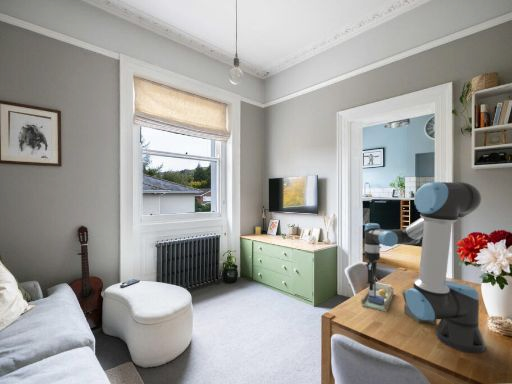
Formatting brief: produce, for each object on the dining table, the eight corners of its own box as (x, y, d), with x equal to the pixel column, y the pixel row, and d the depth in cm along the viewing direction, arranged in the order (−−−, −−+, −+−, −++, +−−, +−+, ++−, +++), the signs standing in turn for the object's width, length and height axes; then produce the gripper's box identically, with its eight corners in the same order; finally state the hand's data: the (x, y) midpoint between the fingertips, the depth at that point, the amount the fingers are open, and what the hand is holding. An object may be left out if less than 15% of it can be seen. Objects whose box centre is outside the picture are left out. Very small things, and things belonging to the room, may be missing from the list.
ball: (385, 298, 140) (385, 291, 140) (377, 296, 143) (377, 289, 143) (386, 295, 143) (386, 288, 143) (379, 294, 146) (379, 287, 146)
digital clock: (439, 326, 113) (439, 302, 113) (419, 326, 113) (419, 302, 113) (416, 309, 129) (416, 288, 129) (398, 309, 129) (398, 288, 129)
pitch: (386, 311, 127) (386, 299, 127) (361, 305, 133) (361, 294, 133) (393, 294, 149) (393, 283, 149) (371, 289, 156) (371, 279, 156)
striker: (382, 304, 131) (382, 278, 132) (368, 301, 136) (368, 275, 136) (384, 300, 136) (384, 275, 136) (370, 297, 140) (370, 272, 140)
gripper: (377, 255, 128) (377, 301, 128) (382, 249, 142) (382, 291, 142) (361, 253, 133) (361, 297, 133) (368, 248, 146) (368, 288, 146)
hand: (372, 294), depth 137 cm, fingers closed on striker, 3 cm apart
